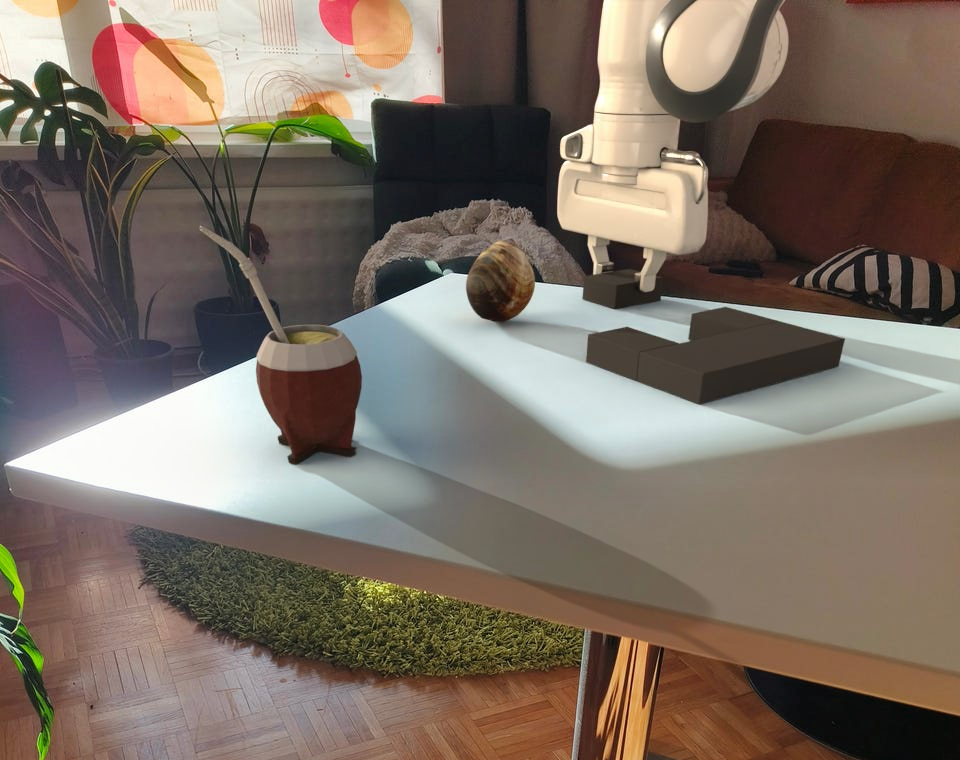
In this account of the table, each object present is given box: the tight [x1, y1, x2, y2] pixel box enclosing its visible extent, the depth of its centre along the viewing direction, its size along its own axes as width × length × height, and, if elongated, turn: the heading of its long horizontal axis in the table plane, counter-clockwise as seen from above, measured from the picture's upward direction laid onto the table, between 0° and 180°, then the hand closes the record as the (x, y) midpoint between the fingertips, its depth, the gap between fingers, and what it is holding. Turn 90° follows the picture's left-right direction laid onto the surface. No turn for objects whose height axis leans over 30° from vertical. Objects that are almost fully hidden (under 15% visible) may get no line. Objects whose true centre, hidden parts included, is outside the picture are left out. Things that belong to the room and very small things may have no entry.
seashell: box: [465, 236, 536, 323], centre depth 91 cm, size 10×6×8 cm, turn 143°
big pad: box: [585, 306, 846, 405], centre depth 80 cm, size 18×14×2 cm
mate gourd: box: [199, 225, 363, 465], centre depth 59 cm, size 8×8×15 cm
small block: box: [582, 268, 664, 310], centre depth 100 cm, size 7×6×2 cm
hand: (622, 284), depth 100 cm, fingers closed on small block, 5 cm apart
